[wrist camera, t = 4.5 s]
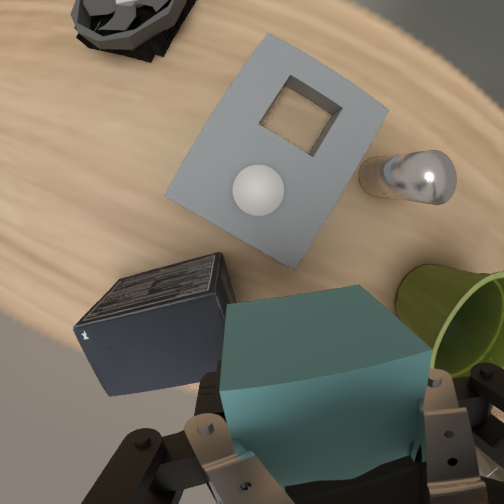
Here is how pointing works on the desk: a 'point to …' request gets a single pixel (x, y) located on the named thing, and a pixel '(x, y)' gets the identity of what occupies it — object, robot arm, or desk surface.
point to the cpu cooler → (129, 25)
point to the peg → (410, 177)
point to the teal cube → (321, 383)
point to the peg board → (276, 154)
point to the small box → (158, 327)
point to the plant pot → (455, 316)
